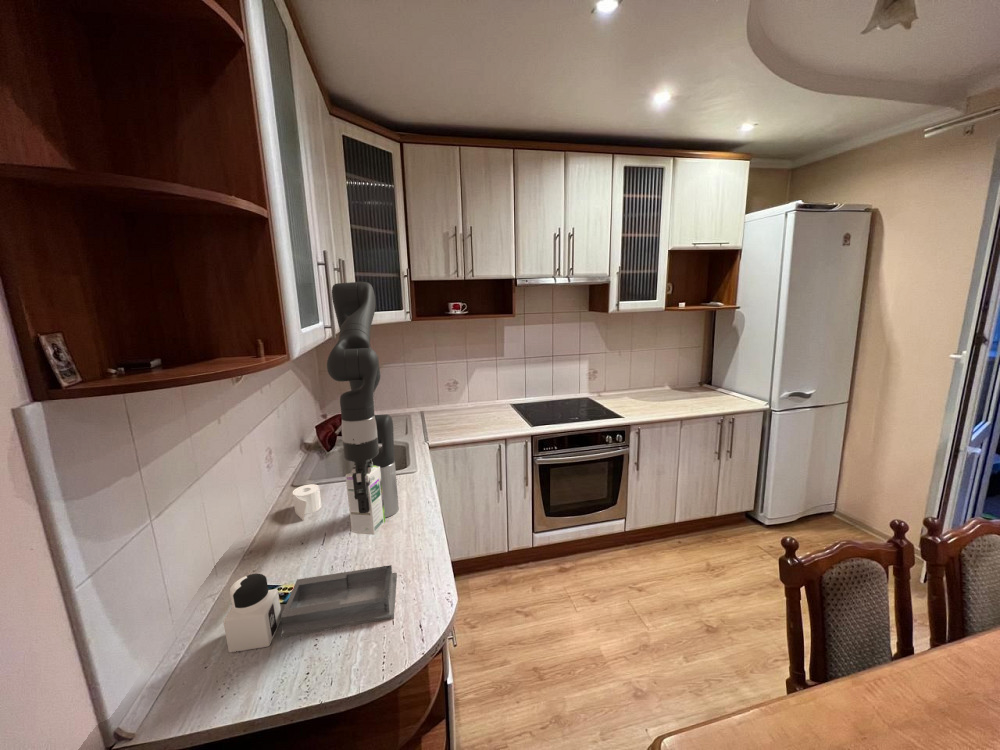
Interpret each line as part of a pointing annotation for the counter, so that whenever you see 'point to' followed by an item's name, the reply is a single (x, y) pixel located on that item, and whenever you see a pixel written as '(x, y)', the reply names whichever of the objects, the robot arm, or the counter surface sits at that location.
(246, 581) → the container
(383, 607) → the low gray tray
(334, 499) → the counter surface
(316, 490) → the toilet paper
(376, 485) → the syrup box
